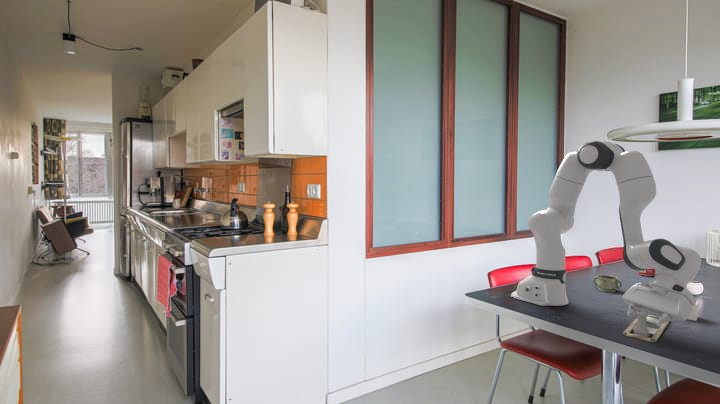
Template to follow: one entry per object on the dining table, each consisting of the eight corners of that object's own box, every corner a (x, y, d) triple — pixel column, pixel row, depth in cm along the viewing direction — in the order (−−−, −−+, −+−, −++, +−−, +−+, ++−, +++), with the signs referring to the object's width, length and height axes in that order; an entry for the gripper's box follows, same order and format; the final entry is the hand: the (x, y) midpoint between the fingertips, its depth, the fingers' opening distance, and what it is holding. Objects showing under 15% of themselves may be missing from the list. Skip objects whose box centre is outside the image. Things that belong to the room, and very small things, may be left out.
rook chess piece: (643, 332, 138) (643, 309, 138) (652, 337, 133) (653, 313, 133) (630, 332, 138) (630, 309, 137) (639, 338, 133) (640, 313, 133)
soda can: (637, 275, 220) (638, 247, 219) (637, 272, 226) (639, 246, 226) (655, 277, 215) (656, 249, 215) (655, 274, 222) (656, 247, 221)
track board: (622, 335, 136) (622, 332, 136) (641, 315, 156) (641, 313, 155) (655, 342, 129) (655, 340, 129) (670, 321, 149) (670, 318, 149)
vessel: (589, 289, 193) (590, 275, 193) (595, 285, 199) (596, 272, 199) (618, 294, 185) (619, 280, 184) (624, 290, 191) (624, 277, 190)
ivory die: (675, 316, 154) (676, 300, 153) (678, 313, 158) (678, 297, 158) (696, 320, 150) (696, 304, 149) (698, 317, 154) (698, 301, 153)
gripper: (631, 275, 147) (609, 305, 144) (692, 290, 127) (668, 324, 125) (640, 287, 148) (619, 316, 146) (702, 303, 129) (678, 337, 126)
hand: (642, 320), depth 135 cm, fingers open, 8 cm apart
